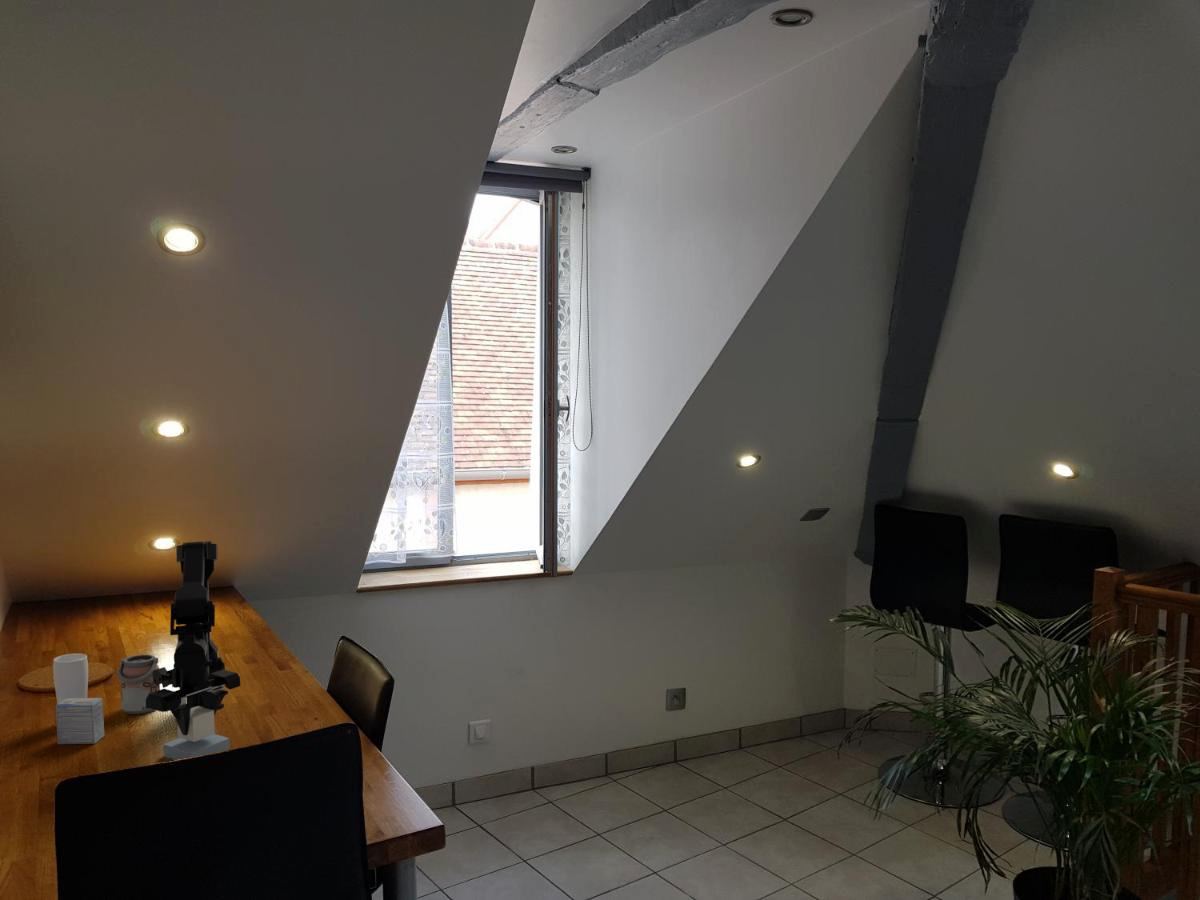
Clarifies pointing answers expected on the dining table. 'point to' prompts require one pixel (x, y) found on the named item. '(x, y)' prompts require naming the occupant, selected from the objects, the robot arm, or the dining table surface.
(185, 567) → the robot arm
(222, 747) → the slate block
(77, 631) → the dining table surface
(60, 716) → the medicine box
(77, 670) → the drinking glass
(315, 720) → the dining table surface
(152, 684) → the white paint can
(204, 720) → the cream cube
